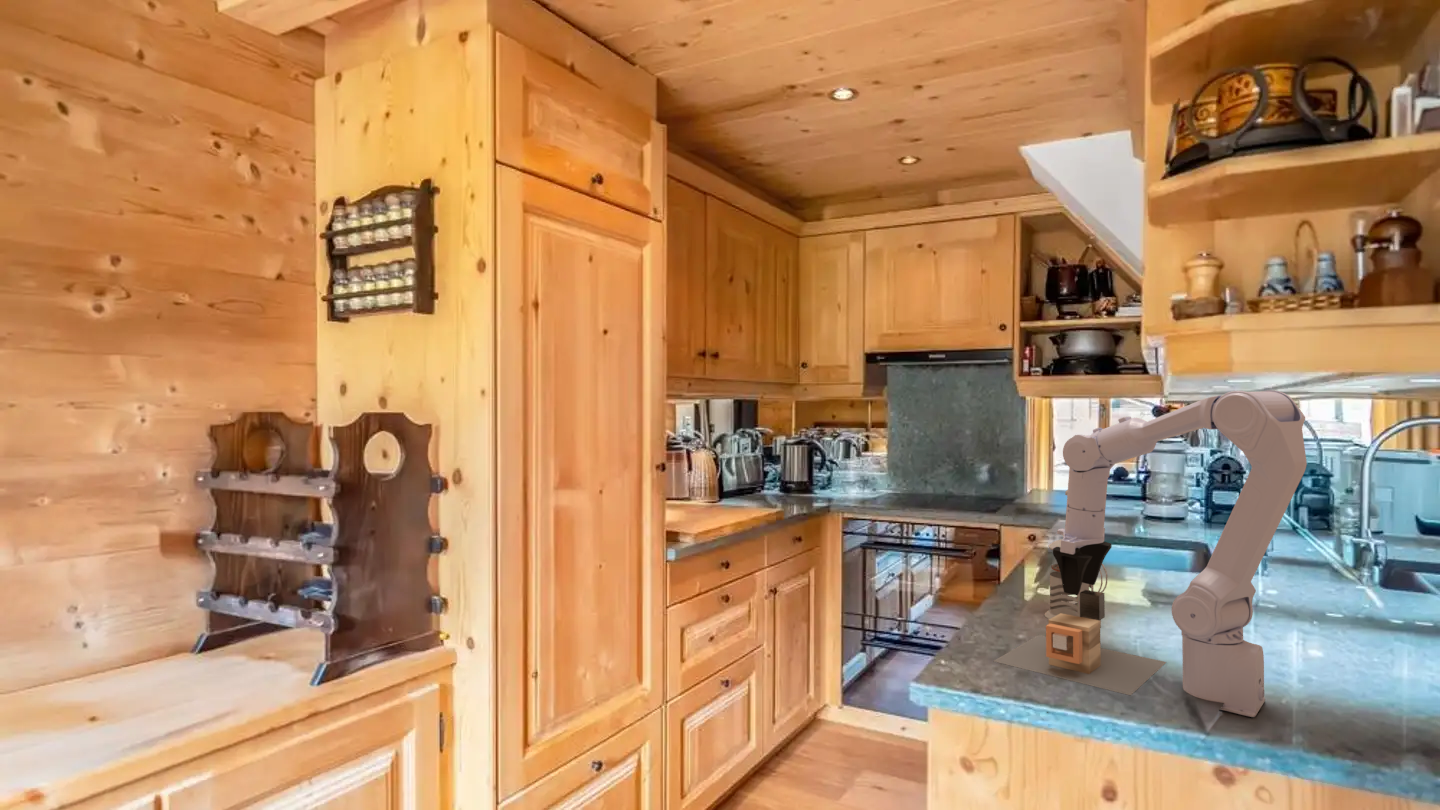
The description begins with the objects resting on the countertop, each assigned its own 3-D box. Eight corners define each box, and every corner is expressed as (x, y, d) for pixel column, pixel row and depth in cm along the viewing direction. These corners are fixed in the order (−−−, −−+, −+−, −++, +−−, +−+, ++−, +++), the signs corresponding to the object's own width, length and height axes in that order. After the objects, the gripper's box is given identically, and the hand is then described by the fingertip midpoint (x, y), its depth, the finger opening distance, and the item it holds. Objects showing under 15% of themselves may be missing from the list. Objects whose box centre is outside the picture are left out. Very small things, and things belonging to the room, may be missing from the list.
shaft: (1104, 627, 122) (1104, 593, 122) (1070, 651, 111) (1069, 612, 111) (1085, 624, 124) (1085, 589, 124) (1049, 646, 113) (1049, 608, 113)
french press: (1062, 607, 152) (1061, 485, 152) (1119, 621, 142) (1118, 490, 142) (1033, 615, 146) (1032, 488, 146) (1090, 630, 137) (1089, 494, 136)
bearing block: (1100, 665, 116) (1100, 620, 116) (1089, 674, 113) (1088, 627, 113) (1061, 656, 120) (1060, 613, 120) (1048, 664, 117) (1048, 620, 117)
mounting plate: (1166, 668, 117) (1166, 661, 117) (1130, 702, 105) (1130, 695, 105) (1038, 640, 131) (1038, 634, 131) (993, 667, 119) (992, 661, 119)
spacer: (1082, 661, 112) (1082, 629, 112) (1078, 664, 111) (1078, 632, 111) (1050, 654, 116) (1049, 623, 116) (1046, 656, 115) (1045, 625, 115)
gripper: (1076, 497, 130) (1070, 573, 131) (1043, 509, 120) (1037, 591, 121) (1120, 504, 125) (1113, 583, 126) (1089, 517, 115) (1083, 603, 116)
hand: (1079, 588), depth 123 cm, fingers open, 7 cm apart
